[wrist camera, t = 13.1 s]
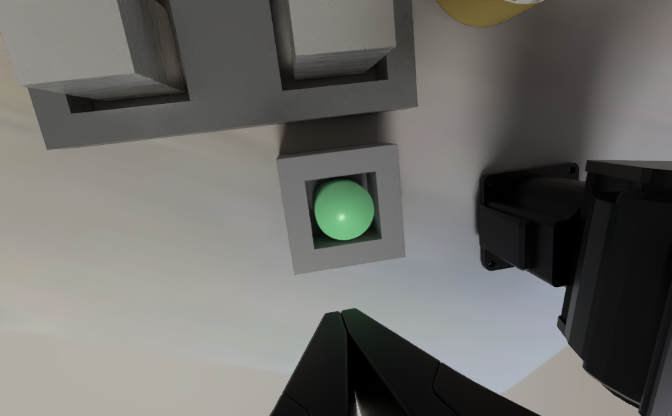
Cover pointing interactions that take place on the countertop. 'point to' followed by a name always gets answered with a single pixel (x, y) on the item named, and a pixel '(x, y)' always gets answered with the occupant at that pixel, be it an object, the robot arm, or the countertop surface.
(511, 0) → the paper tube
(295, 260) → the grey hollow square block
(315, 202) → the button
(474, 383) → the robot arm
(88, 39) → the block
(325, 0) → the block
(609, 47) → the countertop surface
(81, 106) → the rectangular frame
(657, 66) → the countertop surface
